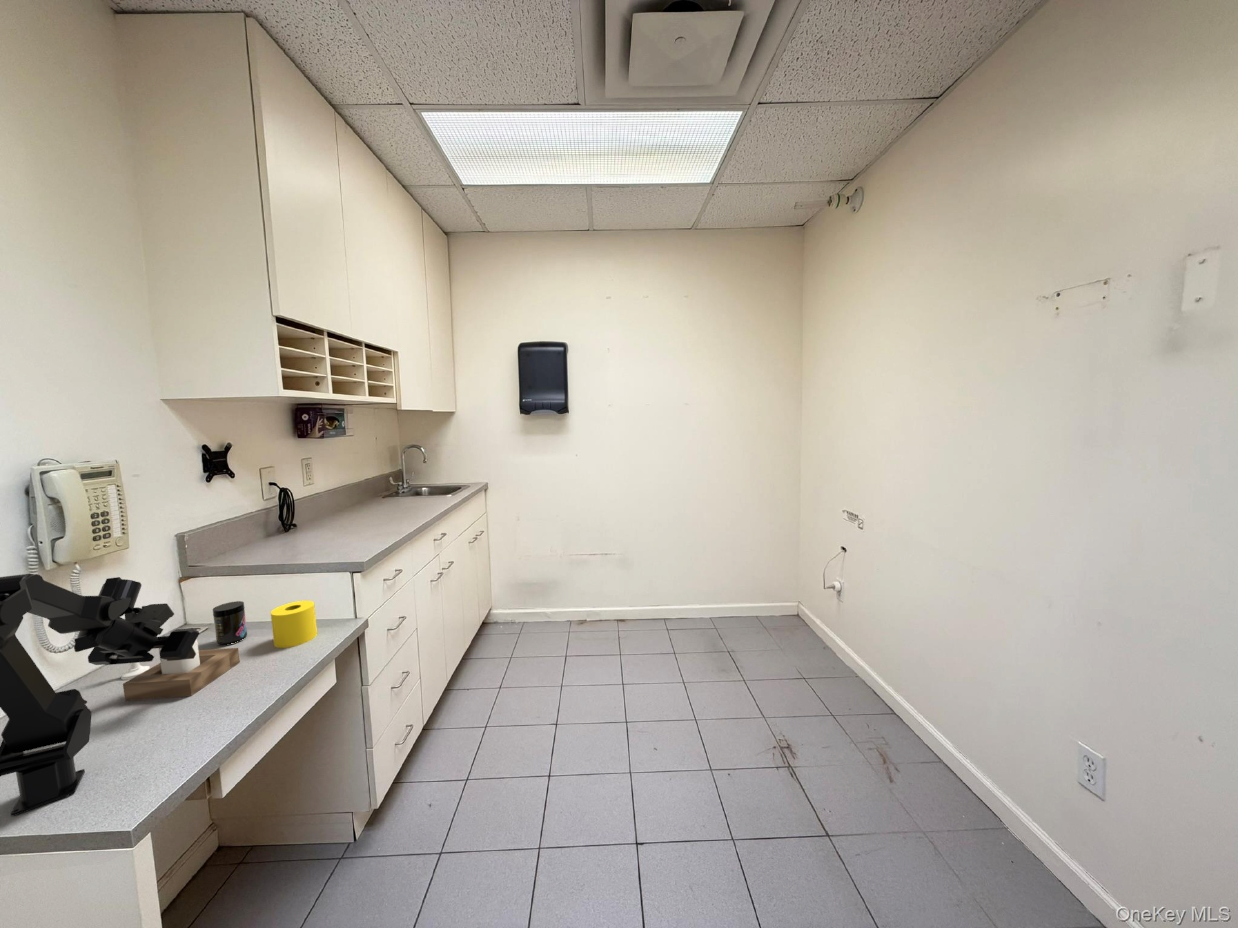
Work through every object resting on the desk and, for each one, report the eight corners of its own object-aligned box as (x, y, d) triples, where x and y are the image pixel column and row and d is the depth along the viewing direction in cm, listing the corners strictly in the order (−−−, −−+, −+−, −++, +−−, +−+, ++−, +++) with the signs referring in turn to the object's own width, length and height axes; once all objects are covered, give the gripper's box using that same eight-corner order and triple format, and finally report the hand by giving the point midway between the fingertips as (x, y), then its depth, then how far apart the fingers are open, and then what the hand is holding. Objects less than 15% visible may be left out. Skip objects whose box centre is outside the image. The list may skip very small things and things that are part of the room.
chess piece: (118, 676, 107) (112, 638, 106) (146, 666, 112) (141, 629, 111) (125, 681, 105) (119, 642, 104) (153, 671, 109) (148, 633, 108)
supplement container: (234, 646, 121) (230, 610, 120) (209, 647, 121) (205, 611, 120) (253, 634, 128) (250, 600, 127) (230, 635, 128) (226, 601, 127)
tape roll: (283, 651, 118) (279, 618, 117) (267, 642, 123) (264, 610, 122) (323, 635, 126) (320, 604, 125) (307, 627, 131) (304, 598, 131)
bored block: (191, 695, 99) (189, 679, 98) (125, 700, 98) (122, 683, 97) (239, 662, 113) (238, 647, 112) (182, 666, 111) (180, 651, 111)
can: (178, 689, 101) (172, 641, 100) (155, 688, 102) (149, 639, 101) (208, 674, 107) (203, 627, 106) (187, 672, 108) (181, 626, 107)
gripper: (187, 595, 96) (232, 621, 108) (95, 600, 94) (152, 625, 106) (156, 646, 89) (208, 668, 100) (56, 653, 87) (121, 674, 99)
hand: (173, 657), depth 102 cm, fingers open, 9 cm apart
